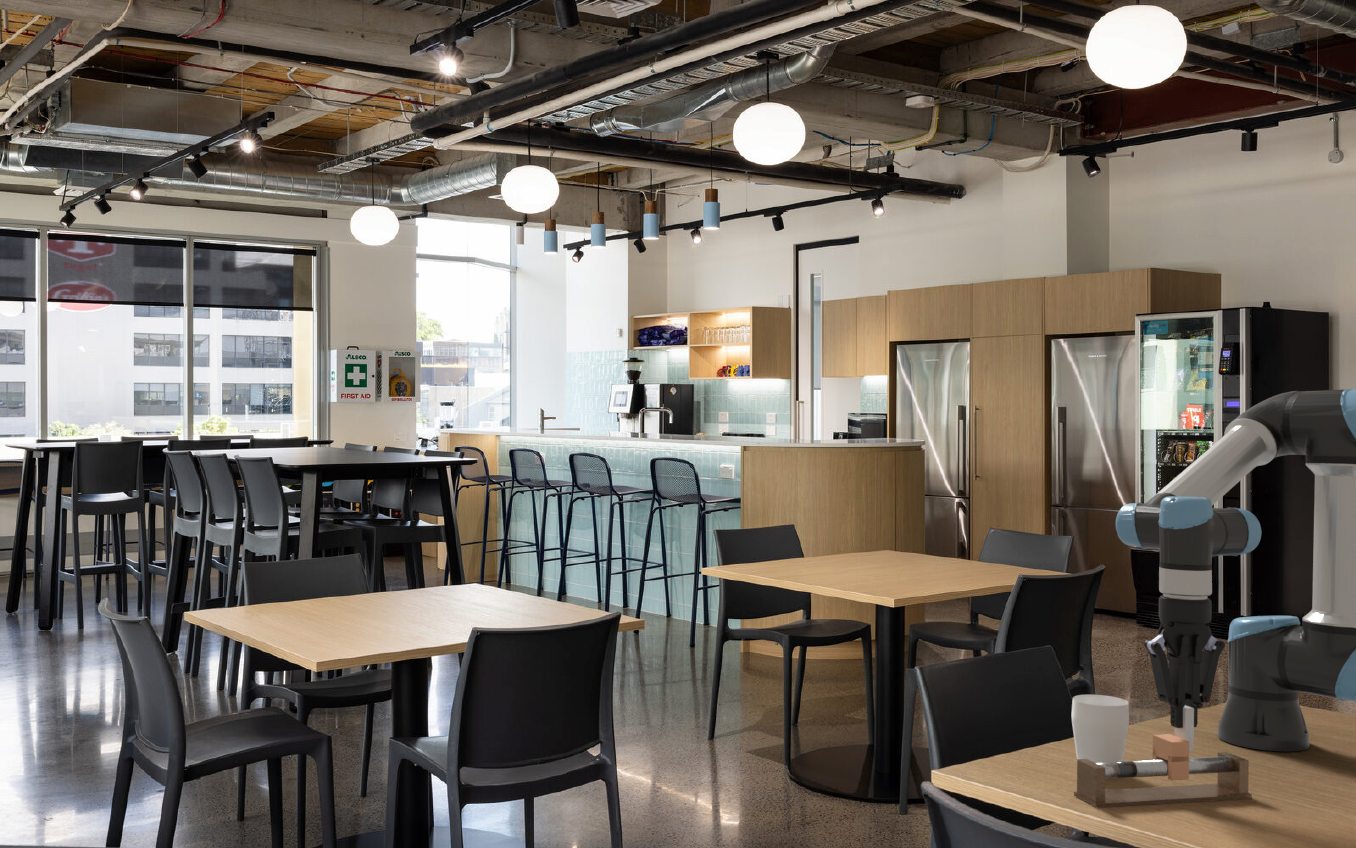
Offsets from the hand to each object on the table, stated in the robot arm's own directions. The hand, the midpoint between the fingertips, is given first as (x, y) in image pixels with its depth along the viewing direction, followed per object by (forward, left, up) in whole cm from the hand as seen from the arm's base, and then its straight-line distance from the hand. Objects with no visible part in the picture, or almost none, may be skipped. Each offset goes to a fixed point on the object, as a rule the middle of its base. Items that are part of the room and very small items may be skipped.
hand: (1183, 748), depth 178 cm
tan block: (+2, 0, -4) cm, 5 cm away
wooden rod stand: (+3, 0, -7) cm, 8 cm away
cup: (+6, -14, -8) cm, 17 cm away
